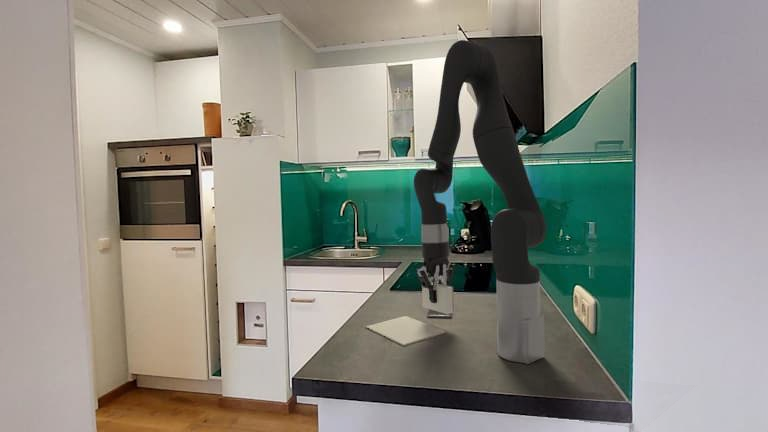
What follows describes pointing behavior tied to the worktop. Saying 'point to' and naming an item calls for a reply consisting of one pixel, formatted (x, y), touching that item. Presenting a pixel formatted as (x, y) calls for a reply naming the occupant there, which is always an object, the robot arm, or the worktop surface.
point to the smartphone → (438, 314)
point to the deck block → (440, 299)
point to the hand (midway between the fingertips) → (437, 301)
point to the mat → (405, 330)
